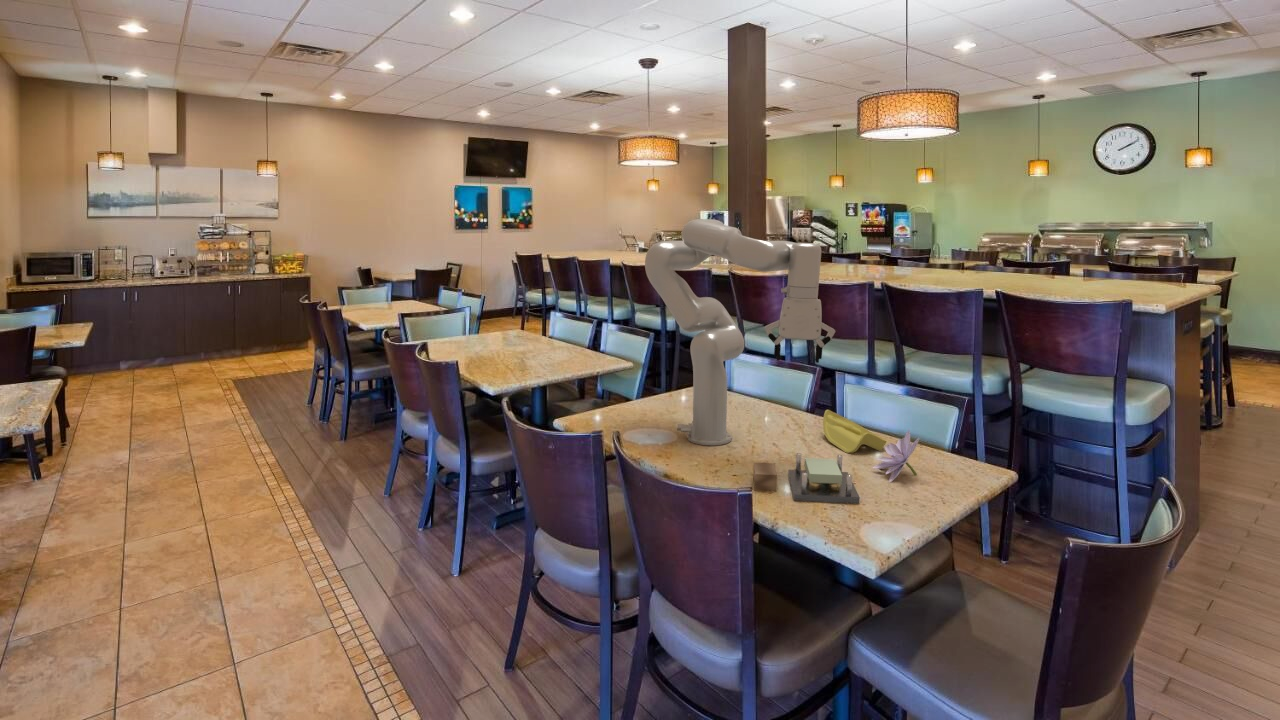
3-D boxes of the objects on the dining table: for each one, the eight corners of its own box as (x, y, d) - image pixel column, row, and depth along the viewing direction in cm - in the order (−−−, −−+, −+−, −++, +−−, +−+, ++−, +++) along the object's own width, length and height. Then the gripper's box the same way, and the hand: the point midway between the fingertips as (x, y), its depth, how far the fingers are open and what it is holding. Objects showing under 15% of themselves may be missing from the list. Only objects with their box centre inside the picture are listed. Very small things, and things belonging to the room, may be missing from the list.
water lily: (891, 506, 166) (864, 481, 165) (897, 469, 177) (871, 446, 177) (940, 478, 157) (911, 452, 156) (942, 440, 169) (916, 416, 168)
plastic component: (890, 443, 185) (863, 430, 181) (877, 467, 186) (850, 455, 182) (848, 418, 203) (822, 407, 199) (836, 440, 204) (811, 429, 200)
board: (809, 482, 153) (809, 473, 152) (804, 465, 163) (804, 457, 163) (841, 483, 152) (842, 475, 151) (834, 467, 163) (834, 459, 162)
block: (754, 490, 157) (755, 474, 157) (753, 478, 165) (753, 462, 164) (776, 491, 157) (777, 475, 156) (774, 479, 164) (774, 463, 164)
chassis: (794, 500, 151) (795, 475, 150) (788, 475, 167) (789, 451, 166) (859, 503, 150) (860, 477, 148) (847, 478, 165) (848, 454, 164)
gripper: (767, 293, 167) (762, 361, 171) (840, 296, 165) (834, 365, 168) (766, 290, 175) (762, 355, 178) (836, 293, 172) (830, 359, 176)
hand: (797, 360), depth 173 cm, fingers open, 9 cm apart
